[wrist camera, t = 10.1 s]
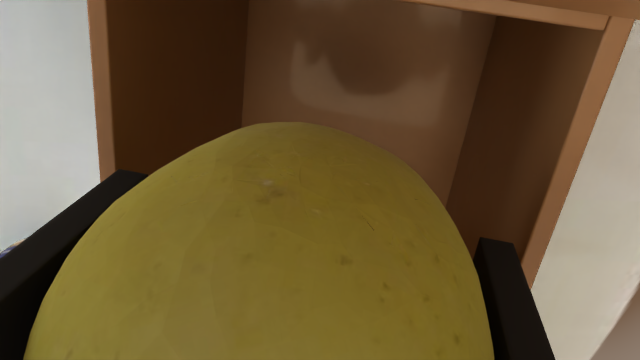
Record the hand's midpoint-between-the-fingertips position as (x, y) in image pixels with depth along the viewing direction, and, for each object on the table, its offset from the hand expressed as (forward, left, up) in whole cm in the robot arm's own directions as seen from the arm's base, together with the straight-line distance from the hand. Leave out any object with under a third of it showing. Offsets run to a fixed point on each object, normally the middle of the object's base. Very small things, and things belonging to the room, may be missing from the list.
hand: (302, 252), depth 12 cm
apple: (0, 0, -1) cm, 1 cm away
